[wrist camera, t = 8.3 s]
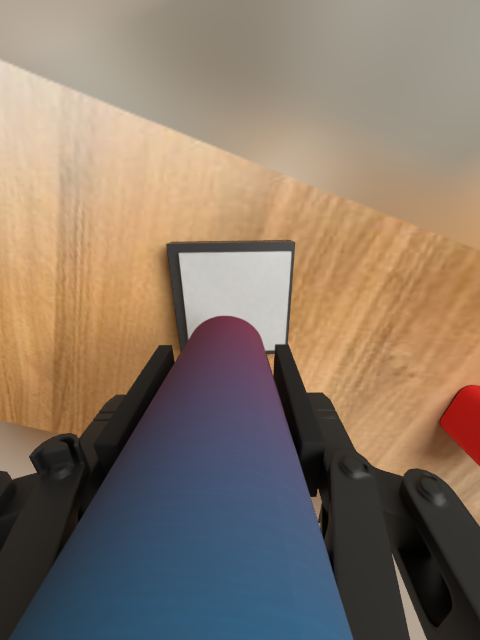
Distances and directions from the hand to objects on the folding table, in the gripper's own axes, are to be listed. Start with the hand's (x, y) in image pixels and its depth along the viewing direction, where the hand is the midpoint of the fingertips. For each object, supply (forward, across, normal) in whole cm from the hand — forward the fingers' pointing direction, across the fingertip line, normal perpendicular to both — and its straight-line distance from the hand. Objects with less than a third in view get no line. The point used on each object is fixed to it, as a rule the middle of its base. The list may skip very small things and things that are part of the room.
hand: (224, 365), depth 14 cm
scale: (+13, 0, 0) cm, 13 cm away
